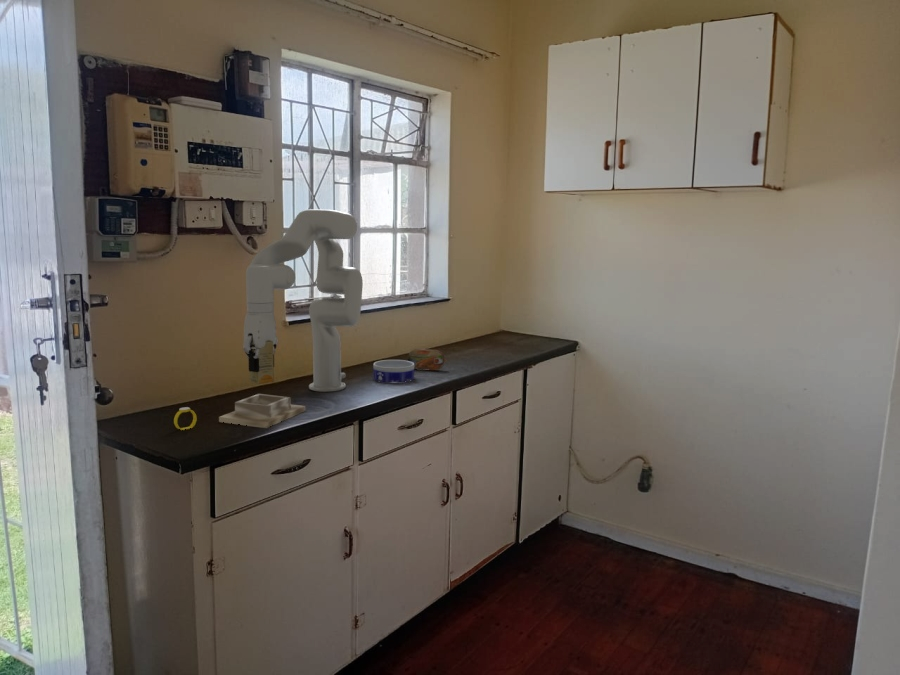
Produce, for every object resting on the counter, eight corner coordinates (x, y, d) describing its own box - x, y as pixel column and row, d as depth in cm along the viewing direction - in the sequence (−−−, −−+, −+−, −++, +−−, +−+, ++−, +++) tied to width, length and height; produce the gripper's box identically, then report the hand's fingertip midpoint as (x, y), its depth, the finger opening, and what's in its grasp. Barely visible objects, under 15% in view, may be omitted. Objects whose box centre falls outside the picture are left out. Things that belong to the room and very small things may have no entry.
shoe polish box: (265, 378, 203) (264, 339, 201) (273, 381, 199) (273, 341, 198) (250, 381, 200) (249, 340, 198) (258, 383, 196) (257, 342, 194)
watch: (178, 433, 185) (175, 412, 184) (173, 431, 187) (171, 410, 185) (199, 427, 189) (196, 406, 188) (194, 425, 191) (191, 404, 190)
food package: (406, 369, 272) (407, 348, 270) (409, 368, 275) (409, 347, 273) (443, 372, 268) (443, 350, 267) (445, 370, 271) (445, 349, 270)
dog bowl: (422, 378, 257) (422, 362, 256) (397, 385, 244) (397, 369, 243) (391, 373, 265) (391, 358, 264) (364, 380, 253) (364, 364, 252)
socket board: (260, 405, 214) (260, 389, 213) (305, 410, 208) (305, 394, 207) (219, 422, 195) (218, 405, 194) (266, 428, 190) (266, 410, 189)
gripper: (267, 305, 206) (268, 363, 208) (230, 310, 190) (232, 373, 192) (288, 306, 203) (289, 365, 206) (253, 312, 187) (254, 375, 190)
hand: (261, 368), depth 199 cm, fingers closed on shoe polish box, 6 cm apart
